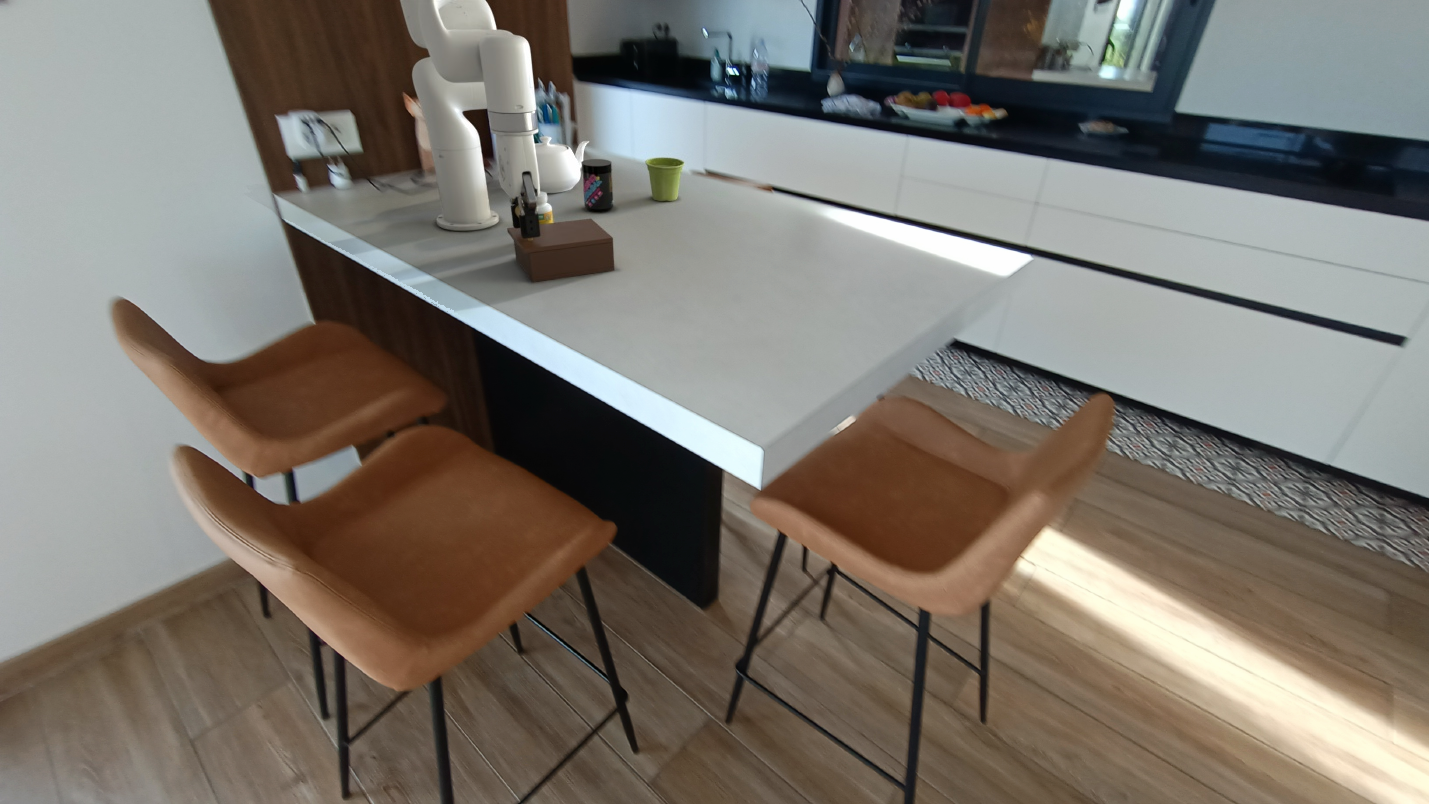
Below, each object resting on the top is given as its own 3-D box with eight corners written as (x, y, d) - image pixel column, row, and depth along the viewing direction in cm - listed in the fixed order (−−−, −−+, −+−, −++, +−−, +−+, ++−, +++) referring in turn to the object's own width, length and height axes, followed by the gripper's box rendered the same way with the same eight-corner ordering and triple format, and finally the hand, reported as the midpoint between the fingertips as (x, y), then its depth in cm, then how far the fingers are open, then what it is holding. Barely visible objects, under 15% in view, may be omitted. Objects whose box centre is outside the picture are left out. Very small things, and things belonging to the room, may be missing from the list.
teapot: (530, 203, 154) (523, 148, 148) (492, 190, 163) (484, 137, 156) (610, 185, 170) (608, 135, 164) (572, 173, 179) (568, 125, 172)
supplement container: (582, 205, 154) (578, 159, 149) (610, 204, 156) (608, 158, 151) (587, 214, 149) (584, 166, 143) (616, 212, 151) (614, 165, 145)
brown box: (532, 282, 115) (529, 253, 112) (516, 259, 124) (512, 231, 121) (614, 270, 121) (613, 242, 118) (593, 249, 130) (591, 222, 127)
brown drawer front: (523, 253, 112) (519, 219, 109) (507, 232, 121) (503, 200, 118) (613, 242, 118) (611, 209, 115) (591, 222, 127) (589, 192, 124)
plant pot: (691, 197, 163) (692, 161, 159) (669, 206, 157) (669, 168, 152) (661, 191, 167) (660, 155, 163) (638, 199, 161) (637, 162, 156)
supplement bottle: (549, 236, 136) (544, 188, 130) (559, 243, 132) (555, 195, 127) (524, 240, 133) (518, 192, 128) (533, 248, 129) (527, 199, 124)
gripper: (479, 114, 111) (494, 220, 121) (501, 133, 99) (517, 250, 108) (523, 112, 114) (535, 216, 124) (551, 130, 102) (561, 244, 112)
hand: (526, 231), depth 116 cm, fingers closed on brown drawer front, 5 cm apart
